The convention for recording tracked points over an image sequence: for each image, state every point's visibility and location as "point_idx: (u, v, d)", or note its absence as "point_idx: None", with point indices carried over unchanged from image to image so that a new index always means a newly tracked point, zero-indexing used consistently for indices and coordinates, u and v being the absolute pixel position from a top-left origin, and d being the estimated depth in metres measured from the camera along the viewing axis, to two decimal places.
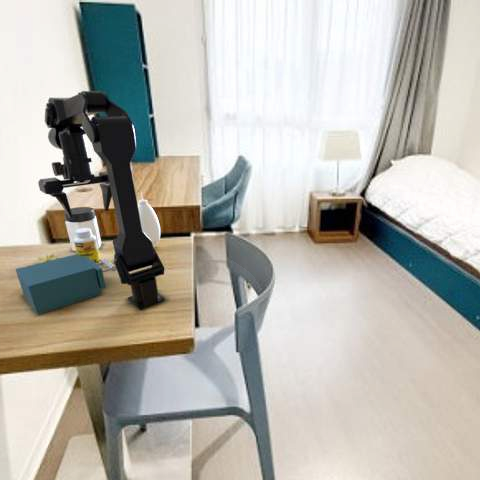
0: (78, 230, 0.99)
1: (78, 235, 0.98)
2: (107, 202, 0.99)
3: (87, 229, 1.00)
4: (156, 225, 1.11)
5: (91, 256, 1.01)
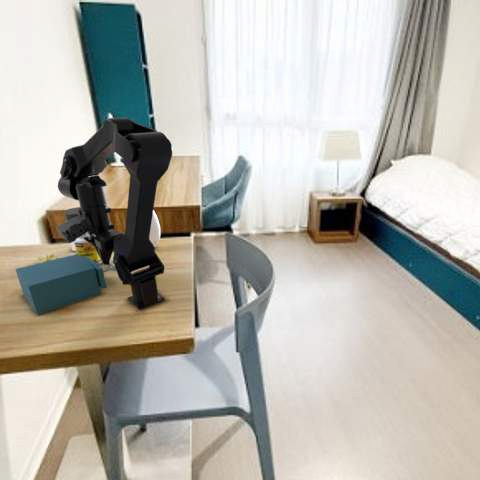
0: None
1: None
2: None
3: None
4: (156, 225, 1.11)
5: (91, 256, 1.01)
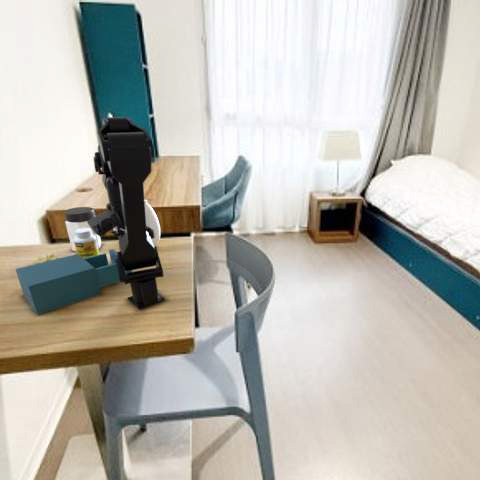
0: (78, 230, 0.99)
1: (78, 235, 0.98)
2: None
3: (87, 229, 1.00)
4: (156, 225, 1.11)
5: None
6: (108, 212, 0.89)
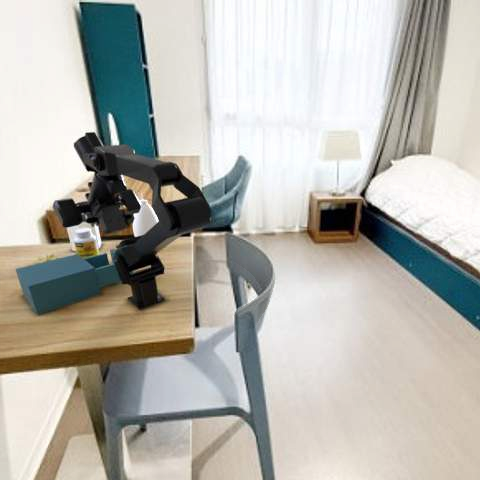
0: (78, 230, 0.99)
1: (78, 235, 0.98)
2: None
3: (87, 229, 1.00)
4: None
5: None
6: (109, 208, 0.83)
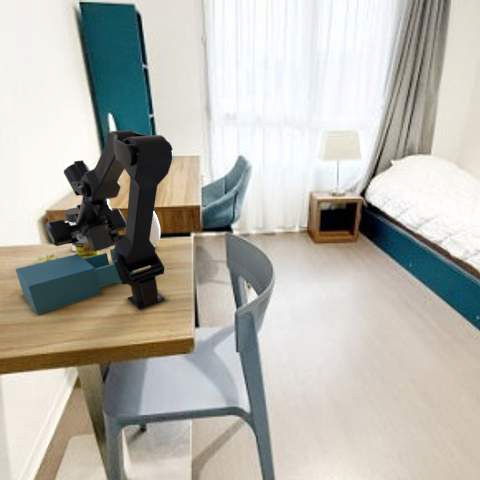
0: None
1: (78, 235, 0.98)
2: None
3: None
4: (156, 225, 1.11)
5: None
6: (96, 228, 0.92)
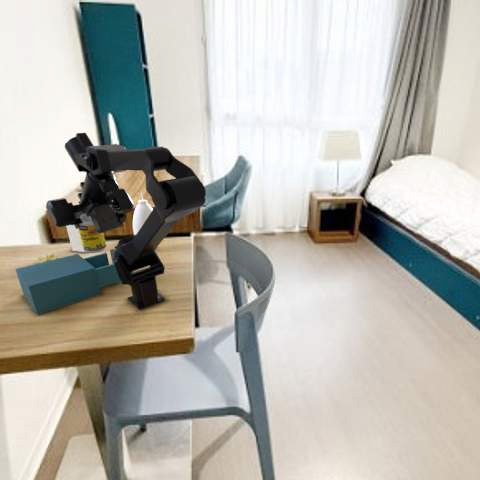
0: None
1: (82, 217, 0.91)
2: None
3: None
4: None
5: (96, 240, 0.94)
6: (101, 207, 0.85)
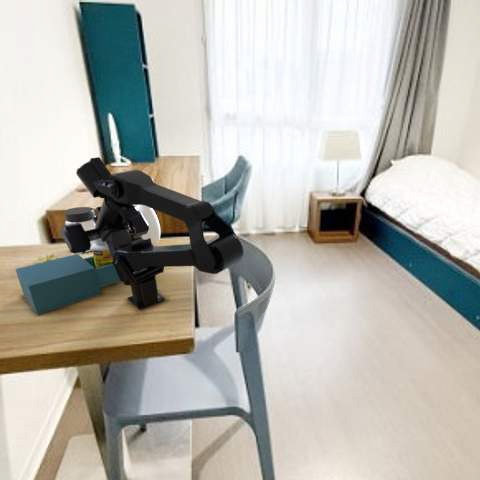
0: None
1: (97, 242, 0.89)
2: None
3: None
4: (156, 225, 1.11)
5: None
6: (118, 233, 0.82)
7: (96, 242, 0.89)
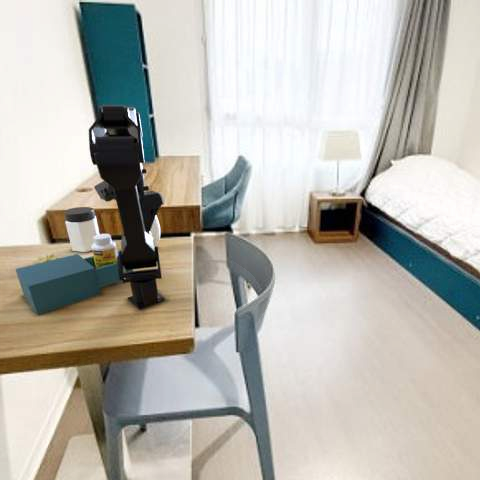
0: (96, 236, 0.90)
1: (97, 242, 0.89)
2: None
3: (107, 235, 0.90)
4: (156, 225, 1.11)
5: None
6: None
7: (96, 242, 0.89)
